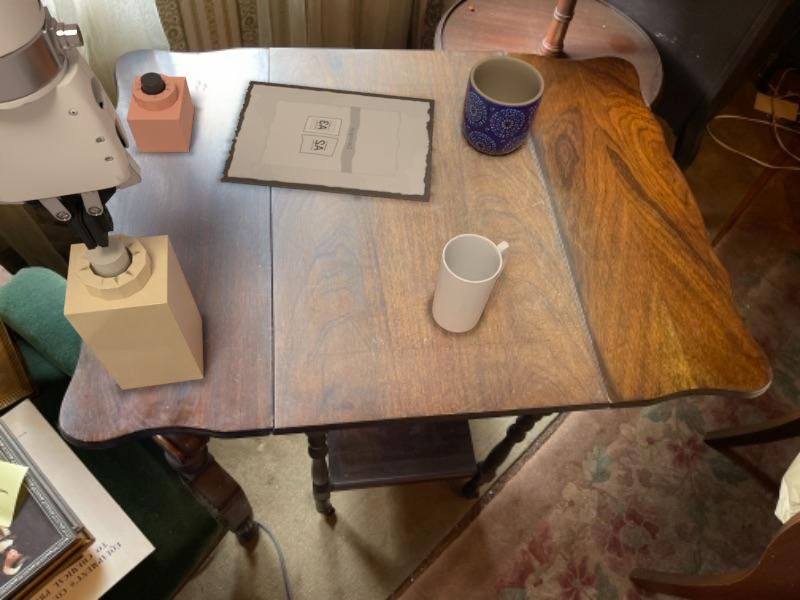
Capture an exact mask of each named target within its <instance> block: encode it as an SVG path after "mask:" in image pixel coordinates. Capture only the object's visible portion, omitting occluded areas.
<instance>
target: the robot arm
mask: <svg viewBox="0 0 800 600" xmlns="http://www.w3.org/2000/svg"><path fill="white" fill-rule="evenodd" d="M84 46H85V41H84V36H83V34H82V30H81V28H80V25H79V24H78V23H65V22H63V21H61V22H58V21H57V19H56V18H55V17H53V16H52V15H51V12H50V10H49V8H48V6H47V5H45V6H44V5H43V2H42V0H0V205H25V204H26V205H28V206H30V207H34V208H37V209H40V210H42V211H46V212H49V214H51V215H52V217H54V218H55V219H56V220H58V221H61V222H65V224H66V225H67V227H68V228H69V230H70V232H71V233H72V235H73V236H74V237H75V238H80V239H81V240H82V243H84V244H85V245H86V247H87V248H88V250H92V249H96V247H98V246H99V247H100V246H101V247H102V248H104V247H109V238H108V235H109V233H111V232H112V233H113V232H114V230H115V226H114V225H115V224H114V219H113V217H112V215H111V213H110V211H109V208H108V206H107V205H106V204H107V203H108V202H109V201H110V200H111V198H113V196H114V195H115V194H116V192H117V191H118V190H121V191H122V190H124V189H127V188H131V187H133V186H137V185H139V184H140V183H141V182H142V180H143V177H142V168H141V166H140V165H139V164H138V163H137V161H136V160H135V159H134V158H133V156H132V155H131V154H130V153H129V152H128V150H127V149H130V142H129V139H128V135H127V131H126V129H125V127H124V125H123V122H122V120H121V118H120V116H119V114H118V112H117V110H116V109H115V107H114V104H113V103H112V101H111V99H110V97H109V95H108V94H107V92H106V90H105V88H104V87H103V85H102V83H101V81H100V80H99V78H98V76H97V75H96V73H95V72H94V70H93V68H92V67H91V66H90V64H89V63H88V61H87V59H86V58H85V57H84V56H83V54H82V53H81V52H80V50H79V49H78V48H81V47H84Z"/></svg>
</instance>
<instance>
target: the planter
mask: <svg viewBox="0 0 800 600" xmlns="http://www.w3.org/2000/svg"><path fill="white" fill-rule="evenodd" d="M545 87H546V85H545V79H544V77H543V76H542V74H541V73H540V71H539V70H538V69H537V68H536V67H535V66H534V65H532V64H530V63H529V62H527V61H525V60H523V59H522V58H517V57H513V56H509V55H493V56H488V57H485V58H482V59H480V60H479V61H477V62H476V63H475V64H474V65H473V66H472V67H471V69H470V72H469V75H468V78H467V83H466V88H465V93H464V98H463V104H462V111H461V130H462V132H463V135H464V137H465V138H466V140H467V141H468V143H469V144H470V145H471V146H472V147H473V148H474V149H475V150H477V151H480V152H481V153H484V154H487V155H491V156H499V155H505V154H508V153H511V152H513V151H515V150H516V149H518V148H519V147H520V146H521V145H522V144H523V143H524V142H525V141H526V139H527V138H528V135H529V134H530V131H531V129H532V127H533V125H534V122H535V119H536V117H537V114H538V112H539V109H540V105H541V102H542V99H543V97H544V92H545V89H546V88H545Z"/></svg>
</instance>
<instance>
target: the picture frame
mask: <svg viewBox="0 0 800 600" xmlns="http://www.w3.org/2000/svg"><path fill="white" fill-rule="evenodd" d="M248 84H249V85H248V86H247V89H246V92H245V95H244V96H245V97H244V103H243V104H242V109H241V110H240V112H239V115H238V116H239V118H238V120H237V125H236V130H234V133H235V136H234V137H233V139H231V141H232V143H231V146H230V149H229V150H228V154H229V156H227V159H226V160H225V163H224V168H223V171H222V174H223V177H221V178H220V180H219V181H221V182H231V183H241V184H250V185H260V186H261V185H262V186H272V187H281V188H289V189H299V190H301V189H302V190H311V191H322V192H332V193H342V194H352V195H360V196H363V195H364V196H372V197H381V198H392V199H401V200H414V201H423V202H430V199H431V197H430V196H431V193H430V192H431V179H432V156H433V155H432V151H433V133H434V115H435V114H434V113H435V99H430V98H421V97H411V96H404V95H403V96H402V95H394V94H393V95H392V94H383V93H375V92H374V93H373V92H365V91H363V92H362V91H356V90H355V91H353V90H345V89H334V88H328V87H327V88H324V87H316V86H306V85H297V84H287V83H278V82H277V83H276V82H269V81H258V80H249V82H248Z"/></svg>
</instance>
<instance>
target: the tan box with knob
mask: <svg viewBox="0 0 800 600" xmlns="http://www.w3.org/2000/svg"><path fill="white" fill-rule="evenodd" d="M108 236H113V237H116V238H118V239H120V240H121V241H122V243H123V244H124V246H125V248H126V250H127V252H128V254H129V256H130V265H129V267H128V268H127V269H126V271H124V272H123V273H122V274H120V275H117V276H114V277H104V276H101V275H99V274H98V273H97V272H96V271H95V269H94V268H93V266H92V265H91V263H90V261H89V260H88V258H87V255H86V251H87V247H86V245H85V244H84V242H82V243H72V244H70V251H69V260H68V261H69V262H68V269H67V280H66V288H65V297H64V306H63V316H64V318H65V319H66V321H68V323H69V324H70V325H71V327H73V329H74V330H75V332H76V333H77V334H78V335H79V336H80V338H81V339H82V340H83V342H84V343H85V344H86V346H87V347H88V348H89V349H90V351H91V352H92V353H93V354H94V356H95V357H96V358H97V360H98V361H99V362H100V363H101V365H102V366H103V367H104V368H105V370H106V371H107V372H108V373H109V375H110V376H111V377H112V379H113V380H114V381H115V382H116V383H117V385H118V386H119V387H120V389H121V390H122V391H123V390H131V389H137V388H145V387H152V386H154V387H155V386H159V385H167V384H168V385H169V384H174V383H183V382H189V381H194V380H195V381H196V380H203V379H204V378H205V377H204V338H203V319H202V316H201V313H200V312H199V309H198V307H197V304H196V302H195V299H194V297H193V294H192V292H191V289H190V286H189V284H188V281H187V279H186V277H185V274H184V272H183V270H182V267H181V265H180V262H179V259H178V257H177V255H176V252H175V249H174V247H173V245H172V242H171V240H170V237H169V235H168V234H162V235H153V236H143V237H142V236H141V237H133V236H129V235H127V234H124V233H117V234H115V233H114V234H108Z"/></svg>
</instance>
